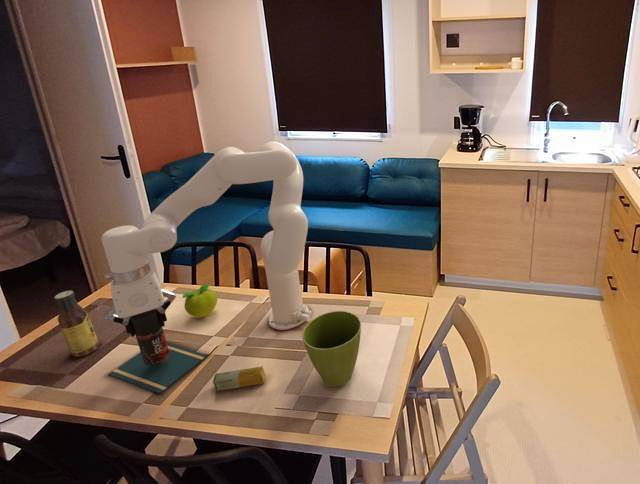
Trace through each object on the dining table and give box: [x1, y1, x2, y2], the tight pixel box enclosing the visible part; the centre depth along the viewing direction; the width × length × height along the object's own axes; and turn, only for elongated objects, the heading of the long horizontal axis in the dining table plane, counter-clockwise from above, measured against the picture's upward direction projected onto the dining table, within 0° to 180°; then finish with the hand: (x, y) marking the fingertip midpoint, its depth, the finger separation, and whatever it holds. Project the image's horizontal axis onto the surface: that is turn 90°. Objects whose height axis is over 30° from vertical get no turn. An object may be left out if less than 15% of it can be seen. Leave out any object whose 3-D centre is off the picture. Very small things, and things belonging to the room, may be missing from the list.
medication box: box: [212, 366, 266, 392], centre depth 104 cm, size 12×3×4 cm, turn 101°
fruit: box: [181, 283, 218, 318], centre depth 131 cm, size 9×9×10 cm
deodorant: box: [130, 309, 169, 365], centre depth 108 cm, size 6×6×15 cm
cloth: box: [108, 342, 208, 395], centre depth 111 cm, size 20×14×1 cm
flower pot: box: [301, 310, 362, 388], centre depth 105 cm, size 15×15×16 cm
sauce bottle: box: [53, 290, 99, 358], centre depth 113 cm, size 6×6×20 cm
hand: (148, 328), depth 107 cm, fingers closed on deodorant, 6 cm apart
